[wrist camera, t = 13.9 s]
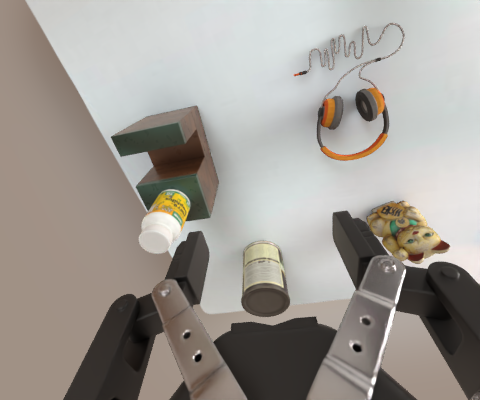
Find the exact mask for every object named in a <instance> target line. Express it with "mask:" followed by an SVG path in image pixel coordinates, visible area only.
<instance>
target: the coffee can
mask: <svg viewBox="0 0 480 400" xmlns="http://www.w3.org/2000/svg"><path fill="white" fill-rule="evenodd" d="M241 303H242V306H243V308H244V309H245V310H246V311H247V312H248V313H250V314H252V315H256V316H260V317H271V316H276V315H279V314H281V313H282V312H284V311H285V310H286V309H287V308H288V307H289V305H290V298H289V295H288V290H287V284H286V278H285V272H284V266H283V260H282V252H281V250H280V248H279V247H278V246H277V245H276V244H274V243H272V242H268V241H257V242H254V243H251V244H250V245H248V246H247V247H246V248H245V250H244V253H243V289H242V300H241Z"/></svg>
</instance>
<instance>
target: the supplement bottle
mask: <svg viewBox="0 0 480 400" xmlns="http://www.w3.org/2000/svg"><path fill="white" fill-rule="evenodd" d="M189 210H190V201H189V199H188V197H187V196H186V195H185V194H184V193H182V192H181V191H178V190H173V189H168V190H164V191H163V192H161V193H160V194H159V195H158V197H157V199H156V200H155V202H154V203H153V205H152V206H151V208H150V209H149V211H148V213H147V214H146V216H145V217H144V219H143V221H142V225H141V227H142V233H141V234H140V236H139V243H140V245H141V246H142V248H143V249H145V250H146V251H148V252H150V253H155V254H161V253H164V252H166V251H167V250H168V249H169V248H170V246H171V244H172V242H174V241H176V240H177V239H178V237H179V236H180V233H181V231H182V228H183V226H184V223H185V220H186V218H187V215H188V212H189Z"/></svg>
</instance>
